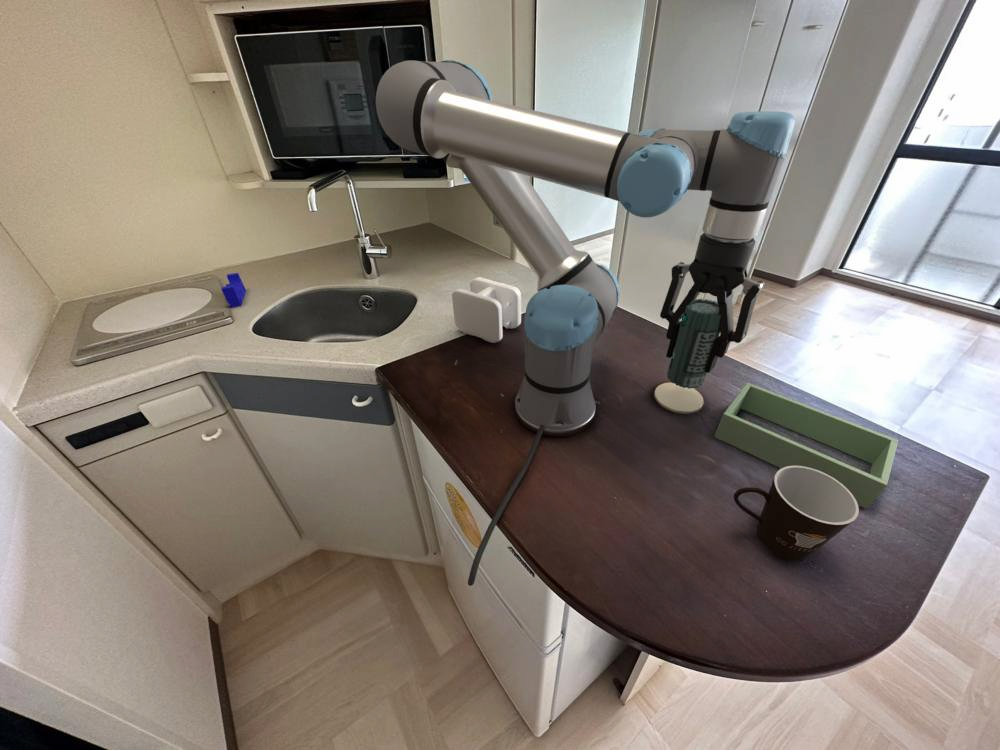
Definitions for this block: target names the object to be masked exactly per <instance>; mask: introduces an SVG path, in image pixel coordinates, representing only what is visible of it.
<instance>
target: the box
mask: <svg viewBox="0 0 1000 750" xmlns="http://www.w3.org/2000/svg"><path fill="white" fill-rule="evenodd" d="M741 410H743V411H744V412H745V411H746V412H748V413H750V414H753V415H755V416H756V417H757V416H758V417H759V418H761V419H765V420H767V421H769V422H771V423H773V424H777V425H779V426H781V427H783V428H786V429H789V430H790V431H793V432H796V433H798V434H800V435H803V436H805V437H808V438H810V439H812V440H814V441H816V442H819V443H822V444H824V445H826V446H829V447H831V448H834V449H836V450H838V451H840V452H842V453H845V454H847V455H850V456H852V457H855V458H857V459H860V460H862V461H864V462H866V463H869V464H871V467H870V470H869V473H868V472H866V471H863V470H861V469H859V468H857V467H854V466H852V465H850V464H847V463H845V462H843V461H840V460H838V459H836V458H834V457H832V456H829V455H826V454H824V453H822V452H820V451H817V450H815V449H813V448H811V447H808V446H806V445H804V444H801V443H800V442H797V441H794V440H792V439H790V438H787V437H785V436H782V435H781V434H778V433H776V432H775V431H771V430H769V429H766V428H765V427H762V426H761V425H757V424H755V423H753V422H751V421H748V420H746V419H743V418H741V417H739V416H737V414H738V413H739V412H740V411H741ZM713 436H714V438H716V439H718V440H720V441H723V443H726V444H728V445H730V446H733V447H735V448H737V449H739V450H740V451H743V452H744V453H745V452H746V454H747V453H748V454H749V455H752V456H754V457H756V458H758V459H760V460H762V461H764V462H767V463H768V464H770V465H772V466H775V467H776V468H779V469H782V468H784V467H787V466H805V467H809V468H813V469H816V470H819V471H821V472H823V473H825V474H828V475H829V476H831V477H833V478H834V479H836V480H837V481H839V482H840V483H842V484H843V485H844V486H845V487H846V488H847V489H848V490H849V491H850V492H851V493H852V495H853V496H854V498H855V499H856V501H857V504H858V506H859V507H860V508H863V509H864V510H867V509H868V508H869V507H870V506H871V504H872V503H873V502H875V500H876V499H877V498H878V496H879V495H880V494H881V493H882V492H883V491H884V490H885V488H886V487H887V486H888V484H889V483H888V482H889V479H890V474H891V471H892V467H893V464H894V460H895V454H896V451H897V447H898V443H899V440H898V439H897V438H895V437H892V436H889V435H886V434H884V433H881V432H878V431H876V430H873V429H870V428H868V427H865V426H863V425H860V424H858V423H856V422H852V421H850V420H847V419H845V418H842V417H839V416H836V415H834V414H831V413H828V412H826V411H823V410H821V409H818V408H815V407H813V406H810V405H808V404H805V403H802V402H800V401H797V400H795V399H792V398H789V397H787V396H784V395H781V394H779V393H776V392H774V391H771V390H769V389H766V388H763V387H760V386H757V385H756V384H753V383H750V382H746V383H745V385H744V386H743V387H742V388H741V390H740V392H739V393H738V394H737V395H736V397H734V400H733V401H732V402H731V403H730V405H729V406H728V407H727V408H726V410H725V411H724V412H723V414H722V417H721V419H720V421H719V424H718V426H717V429H716V431H715V433H714V435H713Z"/></svg>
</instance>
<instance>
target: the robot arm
mask: <svg viewBox="0 0 1000 750" xmlns="http://www.w3.org/2000/svg"><path fill="white" fill-rule="evenodd" d="M375 109H376V114H377V118H378V122H379V123H380V125H381V128H382V129H383V131H384V132H385V134H386V136H388V138H390V140H391V141H392V142H393V143H395V144H396V145H397V146H399V147H400V148H402V149H405V150H406V151H409V152H413V153H417V154H421V155H424V156H428V157H431V158H434V159H442V160H443V161H444V162H445V164H446V166H447V167H448V168H452V169H458V170H461V172H462V173H463V174H464V176H465V177H466V179H467V180H468V182H469V183H470V185H471V186H472V187H473V188H474V190H475V191H476V193H477V194H478V195H479V197H480V199H481V200H482V201H483V203H484V204H485V206H486V207H487V209H488V210H489V211H490V213H491V214H492V215H493V217H494V218H495V220H496V221H497V222H498V224H499V225H500V226H501V228H502V229H503V231H504V232H505V234H506V235H507V237H508V239H510V240H511V242H512V243H513V245H514V247H516V249H517V251H518V252H519V253H520V255H521V256H522V257H523V259H524V260H525V262H526V263H527V265H528V266H529V268H530V269H531V270H532V272H533V273H534V274H535V276H536V277H537V284H536V291H537V292H536V293H534V295H532V296H531V298H530V299H529V300H528V302H527V304H526V307H525V314H524V320H523V328H524V376H523V378H522V382H521V384H520V385H519V389H518V391H517V394H516V396H515V400H514V407H515V408H514V410H515V415H516V417H517V419H518V421H519V422H520V424H522V425H523V426H524V428H526V429H528V430H530V431H531V432H533V433H535V437H534V439H533V442H532V444H531V447H530V448H529V452H528V454H527V456H526V459H525V461H524V463H523V464H522V467H521V469H520V470H519V472H518V474H517V475H516V477H515V479H514V480H513V481H512V483H511V485H510V487H509V488H508V490H507V492H506V493H505V496H504V497H503V498H502V500H501V503H500V504H499V505H498V508H497V509H496V511H495V513H494V515H493V517H492V519H491V520H490V523H489V524H488V526H487V529H486V531H485V533H484V535H483V537H482V540H481V541H480V543H479V546H478V548H477V551H476V553H475V554H474V555H475V556H474V559H473V561H472V564H471V568H470V571H469V574H468V575H469V576H468V578H467V585H468V586H469V587H472V586H473V585H474V584H475V581H476V578H477V573H478V569H479V566H480V563H481V561H482V557H483V555H484V552H485V550H486V548H487V545H488V544H489V541H490V538H491V537H492V534H493V532H494V530H495V528H496V526H497V524H498V522H499V520H500V518H501V516H502V515H503V513H504V510H505V509H506V507H507V505H508V504H509V502H510V500H511V498H512V496H513V494H514V493H515V491H516V489H517V488H518V486H519V484H520V483H521V481H522V479H523V478H524V476H525V474H526V473H527V470H528V469H529V466H530V465H531V462H532V460H533V458H534V455H535V452H536V450H537V447H538V445H539V443H540V440H541V438H542V436H545V437H551V438H565V437H570V436H574V435H577V434H580V433H582V432H583V431H585V430H586V429H587V428H589V427H590V425H591V424H592V423H593V421H594V419H595V414H596V400H595V398H594V394H593V391H592V386H591V382H590V375H591V367H592V360H593V354H594V349H595V346H596V344H597V342H598V340H599V339H600V336H601V335H602V334H603V332H604V330H605V329H606V327H607V325H608V323H609V322H610V321H611V319H612V318H613V316H614V315H615V313H616V312H617V307H618V305H619V301H620V294H621V291H620V285H619V281H618V279H617V277H616V276H615V275H614V273H613V272H612V270H611V269H609V268H608V267H607V266H605V265H603V264H598V263H596V262H595V261H594V259H593V258H592V257H591V255H590V254H589V252H588V251H583V250H578V249H577V248H575V246H574V245H573V244H572V242H571V240H570V239H569V238H568V237H567V234H566V233H565V231H564V230H563V229H562V227H561V225H560V224H559V223H558V221H557V220H556V219H555V217H554V215H553V214H552V213H551V211H550V210H549V208H548V207H547V205H546V204H545V202H544V201H543V199H542V198H541V197H540V195H539V193H538V192H537V191H536V189H535V188H534V186H533V184H532V183H531V181H530V180H529V178H528V177H531V178H535V179H538V180H542V181H546V182H549V183H553V184H557V185H560V186H564V187H568V188H570V189H575V190H579V191H581V192H585V193H589V194H593V195H596V196H600V197H603V198H607V199H610V200H613V201H617V202H620V204H621V205H622V206H623V208H624V209H625V210H626V211H627V212H628V213H630V214H631V215H634V216H635V217H638V218H645V219H646V218H654V217H658V216H660V215H662V214H665V213H666V212H667V211H669V210H670V209H672V208H673V207H674V206H675V205H677V203H679V201H681V199H682V198H683V196H684V195H685V194H686V193H687V192H688V191H701V192H705V191H708V192H711V195H710V198H709V201H708V205H707V209H706V213H705V216H704V217H705V218H704V220H703V224H702V227H701V230H702V232H703V233H702V234H701V235H700V236H699V240H698V244H697V247H696V250H695V255H694V259H693V261H692V262H691V263H685V262H683V261H680V262H679V263H677V264H675V265H673V266H672V268H671V281H670V283H669V287H668V290H667V293H666V296H665V299H664V301H663V305H662V307H661V311H660V314H659V317H660V318H661V319H665V320H667V322H668V325H667V326H668V327H667V331H666V335H665V337H666V339H667V340H669V344H668V347H667V351H666V355H665V357H666V358H668V359H671V358H672V354H673V350H674V347H675V343H676V339H677V335H678V332H679V328H680V324H681V320H682V317H683V313H684V311H685V309H686V306H687V305H689V304H691V303H692V302H693V301H694V300H695V299H698V296H699V295H700V294H709V295H711V296H713V297H716V302H717V303H718V304H719V314H720V315H721V318H720V334H719V337H718V338H717V339H716V340H715V342H714V344H713V347H712V350H711V353H710V356H709V359H708V362H707V365H706V368H705V371H704V372H706V374H709V373H710V372H712V371H713V369H714V368H715V367H716V364H717V361H718V359H719V358H720V359H722V358H723V357H724V356H725V355H726V354H727V353H728V350H729V347H730V344H731V342H734V343H735V344H740V343H741V342H742V341H743V340H744V339H745V338H746V337H747V334H748V332H749V327H750V323H751V319H752V316H753V313H754V308H755V304H756V301H757V297H758V295H759V294H760V293H761V291H762V290H763V289H764V287H765V282H764V281H763V280H757V281H756V280H754V279H752V278H750V277H748V271H747V268H748V265H749V262H750V259H751V256H752V253H753V250H754V247H755V246H756V245H755V244H756V240H755V238H756V237H757V236H758V235H759V233H760V230H761V227H762V225H763V221H764V219H765V216H766V213H767V210H768V206H769V203H770V201H771V198H772V195H773V193H774V190H775V187H776V184H777V182H778V179H779V176H780V174H781V171H782V167H783V166H784V163H785V160H786V158H787V152H788V149H789V147H790V143H791V139H792V136H793V133H794V129H795V126H796V119H795V117H794V115H793V114H792V113H790V112H786V111H778V110H777V111H776V110H775V111H772V110H762V111H761V110H760V111H759V110H757V111H741V112H737V113H735V114H733V116H732V117H731V119H730V122H729V124H728V125H727V128H726V129H725V128H724V129H723V128H722V129H714V130H705V129H704V130H703V129H702V130H701V129H700V130H699V129H694V130H693V129H667V128H661V127H660V128H658V129H656V128H655V129H644V130H641V131H639V132H638V133H632V132H628V131H626V130H625V131H624V130H620V129H616V128H612V127H609V126H608V127H607V126H603V125H598V124H594V123H592V122H591V123H590V122H585V121H582V120H579V119H578V120H577V119H572V118H570V117H569V118H568V117H565V116H561V115H556V114H551V113H547V112H543V111H539V110H534V109H531V108H525V107H521V106H518V105H512V104H509V103H504V102H500V101H495V100H493V95H492V92H491V89H490V87H489V85H488V83H487V81H486V80H485V78H484V77H483V75H482V74H481V73H480V72H479V71H478V70H477V69H475V68H474V67H472V66H471V65H468V64H466V63H463V62H460V61H456V60H451V59H450V60H449V59H448V60H441V61H424V60H411V59H410V60H403V61H401V62H398V63H396V64H393V65H392V66H390V67H389V68H388V69H387V70H386V71H385V72H384V74H383V75H382V76H381V77H380V80H379V82H378V85H377V90H376V93H375ZM527 176H528V177H527ZM688 274H690V276H691V279H692V281H693V285H691V288H690V289H689V290H688V292H687V294H686V296H685V297H684V298H683V300H682V301H681V302H680V303H679V305H678V307H677V308H676V310H675V311H674V309H675V306H676V304H677V300H678V298H679V295H680V292H681V289H682V286H683V284H684V281H685V277H686V276H688ZM741 285H742V286H743V289H742V293H743V294H744V296H743V299H742V302H741V305H740V310H739V314H738V318H737V322H736V325H735V326H736V327H735V328H734V306H733V298H734V290H735V289H736V288H738V287H739V286H741ZM734 329H735V330H734Z"/></svg>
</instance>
